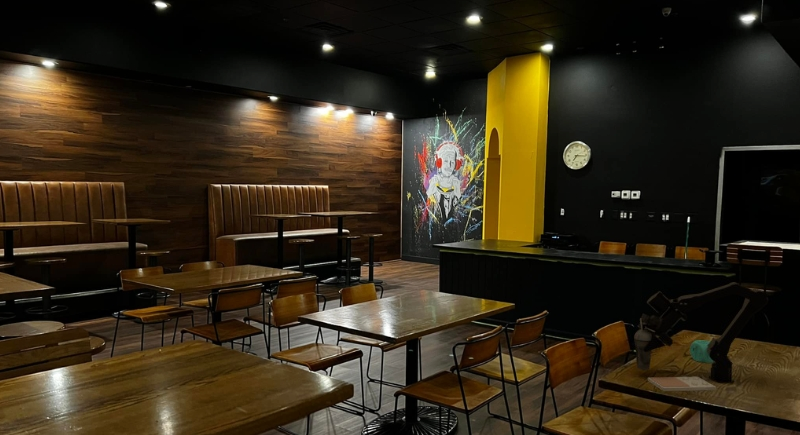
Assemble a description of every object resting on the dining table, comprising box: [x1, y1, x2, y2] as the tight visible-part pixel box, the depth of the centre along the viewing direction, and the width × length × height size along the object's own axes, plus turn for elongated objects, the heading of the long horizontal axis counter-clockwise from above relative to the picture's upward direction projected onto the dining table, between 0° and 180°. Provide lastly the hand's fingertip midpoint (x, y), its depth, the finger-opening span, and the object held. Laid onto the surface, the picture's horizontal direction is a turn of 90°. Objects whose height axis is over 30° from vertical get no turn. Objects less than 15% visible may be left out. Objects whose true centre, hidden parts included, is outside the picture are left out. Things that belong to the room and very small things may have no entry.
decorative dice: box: [689, 339, 715, 364], centre depth 253 cm, size 8×8×8 cm
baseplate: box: [647, 376, 717, 392], centre depth 220 cm, size 20×12×2 cm, turn 93°
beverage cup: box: [633, 317, 652, 371], centre depth 231 cm, size 7×7×20 cm
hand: (640, 349), depth 231 cm, fingers closed on beverage cup, 7 cm apart
